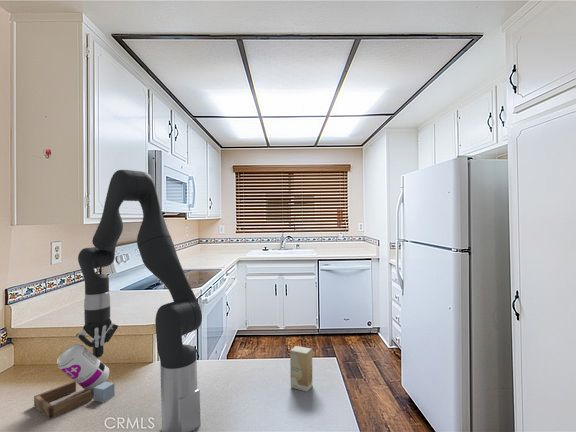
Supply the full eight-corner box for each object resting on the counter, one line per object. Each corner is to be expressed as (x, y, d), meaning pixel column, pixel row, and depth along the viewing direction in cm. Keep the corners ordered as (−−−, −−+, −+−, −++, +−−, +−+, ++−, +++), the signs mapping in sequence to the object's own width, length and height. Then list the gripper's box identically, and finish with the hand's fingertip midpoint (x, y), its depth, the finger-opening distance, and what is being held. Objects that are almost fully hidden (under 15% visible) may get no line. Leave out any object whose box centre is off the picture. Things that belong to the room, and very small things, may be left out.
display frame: (91, 400, 99) (91, 390, 99) (49, 419, 90) (49, 408, 90) (74, 389, 106) (74, 380, 106) (34, 406, 97) (34, 396, 97)
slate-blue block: (114, 395, 102) (114, 383, 102) (103, 402, 98) (103, 389, 98) (105, 393, 103) (105, 381, 103) (94, 400, 99) (93, 387, 99)
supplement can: (102, 389, 102) (69, 362, 96) (82, 394, 104) (49, 368, 98) (115, 366, 109) (85, 339, 103) (96, 371, 111) (66, 345, 105)
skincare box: (290, 388, 103) (288, 349, 103) (296, 381, 106) (294, 345, 107) (308, 392, 100) (306, 353, 100) (313, 385, 103) (312, 348, 104)
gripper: (80, 312, 100) (81, 367, 100) (122, 302, 111) (123, 352, 111) (70, 308, 104) (71, 361, 104) (112, 299, 115) (112, 347, 115)
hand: (98, 356), depth 108 cm, fingers closed
